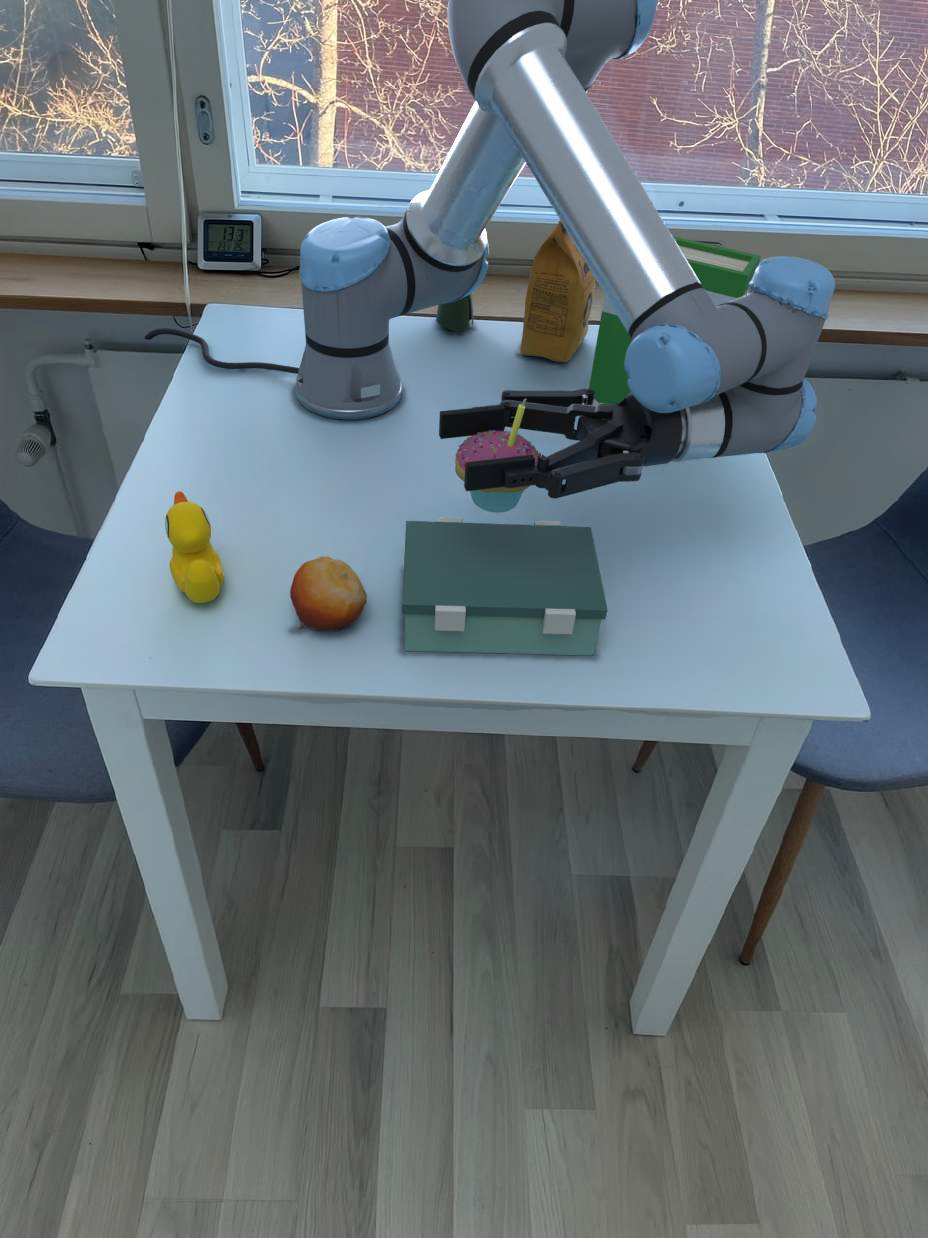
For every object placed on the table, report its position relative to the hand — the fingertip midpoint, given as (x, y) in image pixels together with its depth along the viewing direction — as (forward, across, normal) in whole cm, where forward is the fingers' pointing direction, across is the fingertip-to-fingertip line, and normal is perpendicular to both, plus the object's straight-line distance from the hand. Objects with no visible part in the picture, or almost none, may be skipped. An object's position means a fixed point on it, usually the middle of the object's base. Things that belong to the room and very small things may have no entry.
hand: (452, 450), depth 84 cm
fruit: (+13, +1, -20) cm, 24 cm away
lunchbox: (-5, -2, -20) cm, 21 cm away
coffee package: (-34, +56, -20) cm, 68 cm away
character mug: (-20, +66, -20) cm, 72 cm away
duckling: (+26, +9, -20) cm, 34 cm away
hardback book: (-41, +34, -20) cm, 56 cm away
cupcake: (-5, 0, -7) cm, 8 cm away
